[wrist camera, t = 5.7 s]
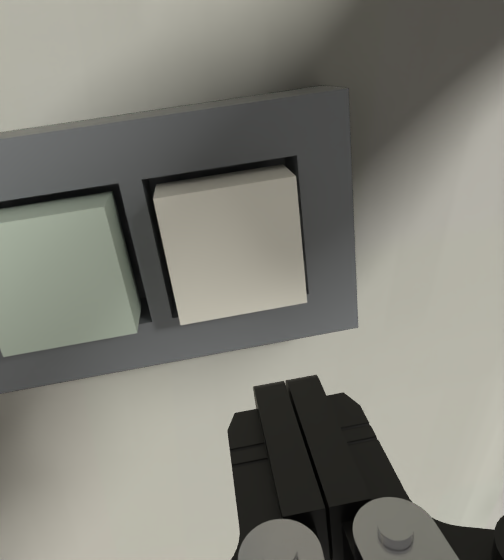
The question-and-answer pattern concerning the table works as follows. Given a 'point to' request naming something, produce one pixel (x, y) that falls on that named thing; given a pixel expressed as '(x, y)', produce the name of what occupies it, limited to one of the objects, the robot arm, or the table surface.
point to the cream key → (232, 242)
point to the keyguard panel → (145, 229)
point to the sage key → (64, 275)
